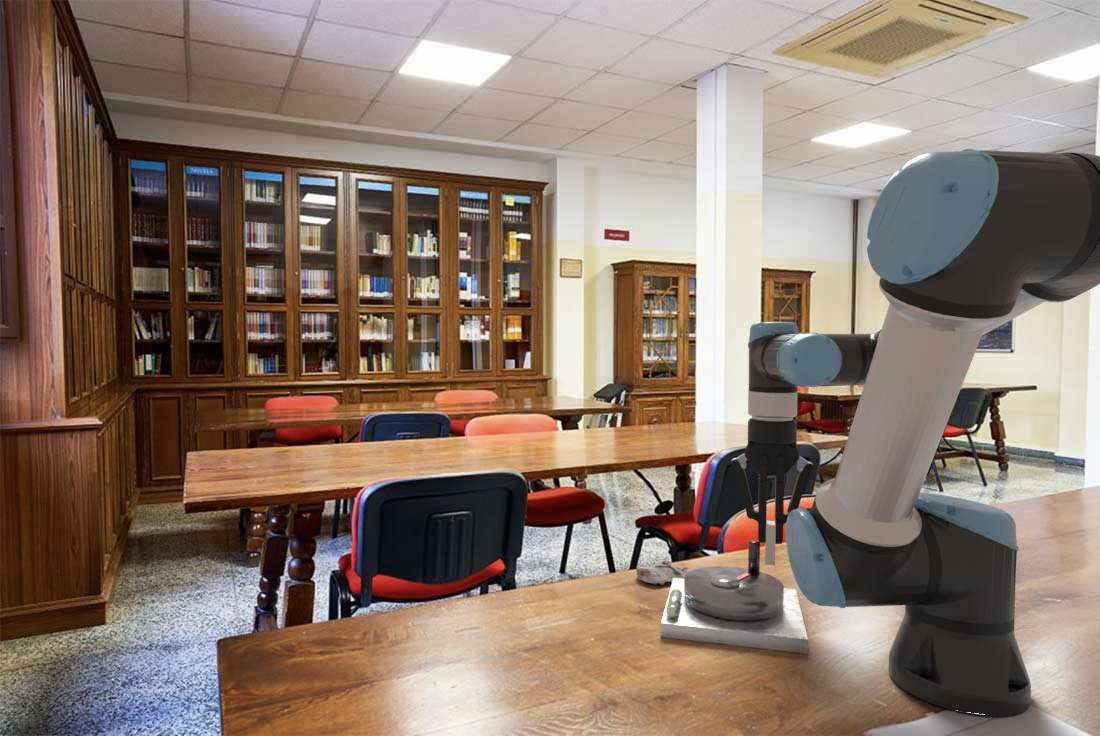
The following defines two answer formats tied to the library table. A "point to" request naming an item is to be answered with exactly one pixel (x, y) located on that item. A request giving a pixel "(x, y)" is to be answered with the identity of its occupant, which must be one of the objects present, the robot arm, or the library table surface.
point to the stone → (661, 573)
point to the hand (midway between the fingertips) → (769, 562)
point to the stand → (735, 625)
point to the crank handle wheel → (735, 590)
